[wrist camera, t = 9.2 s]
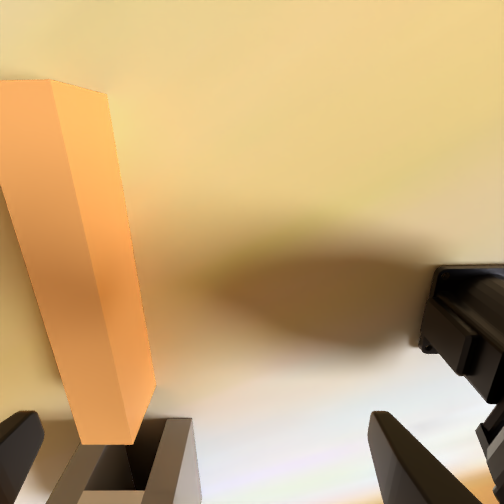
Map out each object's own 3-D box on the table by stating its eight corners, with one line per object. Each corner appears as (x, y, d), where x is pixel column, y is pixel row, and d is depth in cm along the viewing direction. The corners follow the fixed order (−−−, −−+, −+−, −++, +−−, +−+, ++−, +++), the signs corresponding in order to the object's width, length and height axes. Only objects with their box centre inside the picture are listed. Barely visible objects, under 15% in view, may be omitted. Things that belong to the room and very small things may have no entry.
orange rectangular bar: (49, 96, 16) (-32, 81, 12) (108, 95, 16) (49, 79, 12) (116, 383, 24) (82, 444, 19) (157, 383, 24) (132, 444, 19)
